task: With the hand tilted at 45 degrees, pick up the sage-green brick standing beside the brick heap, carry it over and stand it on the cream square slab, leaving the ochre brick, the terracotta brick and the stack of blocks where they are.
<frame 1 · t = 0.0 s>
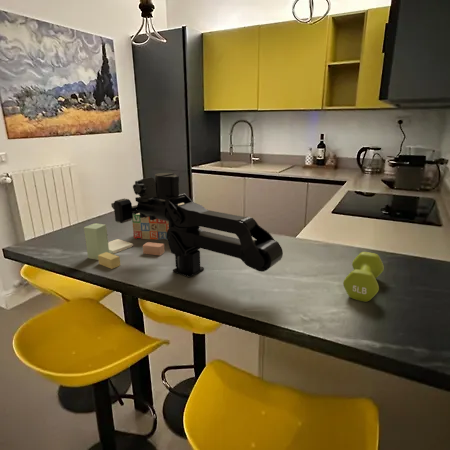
hand: (124, 201, 104), 17 cm above the table, tool horizontal, fingers open, 9 cm apart
sage brick: (98, 256, 105), on the table
terracotta brick: (154, 253, 108), on the table
cream square slab: (116, 248, 113), on the table
ochre brick: (109, 265, 99), on the table
dumbbell: (362, 288, 86), on the table
stack of blocks: (164, 237, 123), on the table
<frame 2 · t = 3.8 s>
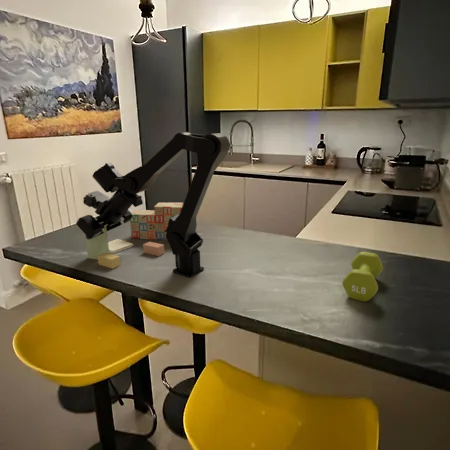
hand: (92, 235, 104), 7 cm above the table, tool tilted 45°, fingers closed on sage brick, 4 cm apart
sage brick: (98, 256, 105), on the table, touching gripper
when the fingers open (9 cm above the table, at t = 6.9 s): sage brick drops 2 cm, point 1 cm above the table.
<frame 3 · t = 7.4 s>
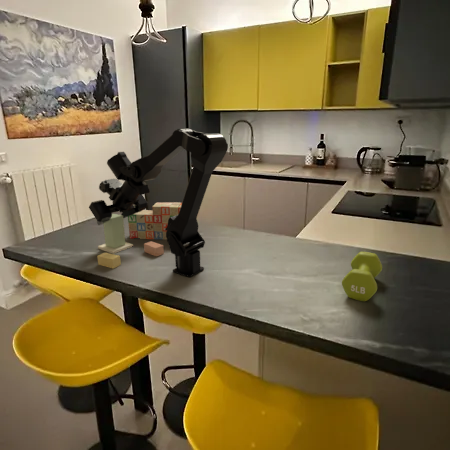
hand: (110, 220, 111), 9 cm above the table, tool tilted 45°, fingers open, 9 cm apart
sage brick: (115, 245, 112), point 1 cm above the table
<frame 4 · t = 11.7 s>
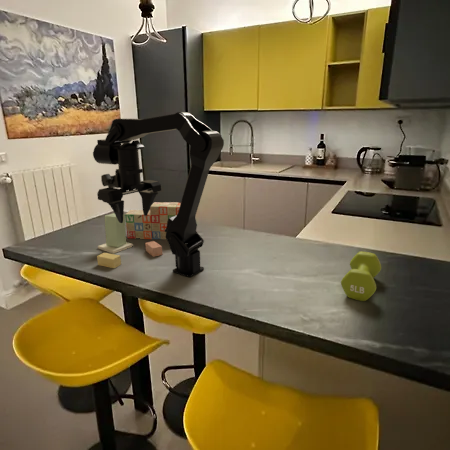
hand: (133, 219, 99), 13 cm above the table, tool pointing down, fingers open, 9 cm apart
at the end: sage brick inside the target area on the cream square slab (0.2 cm from its centre), point 1.7 cm above the cream square slab's base; sage brick tilted 4°; ochre brick moved 0.2 cm from its start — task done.
